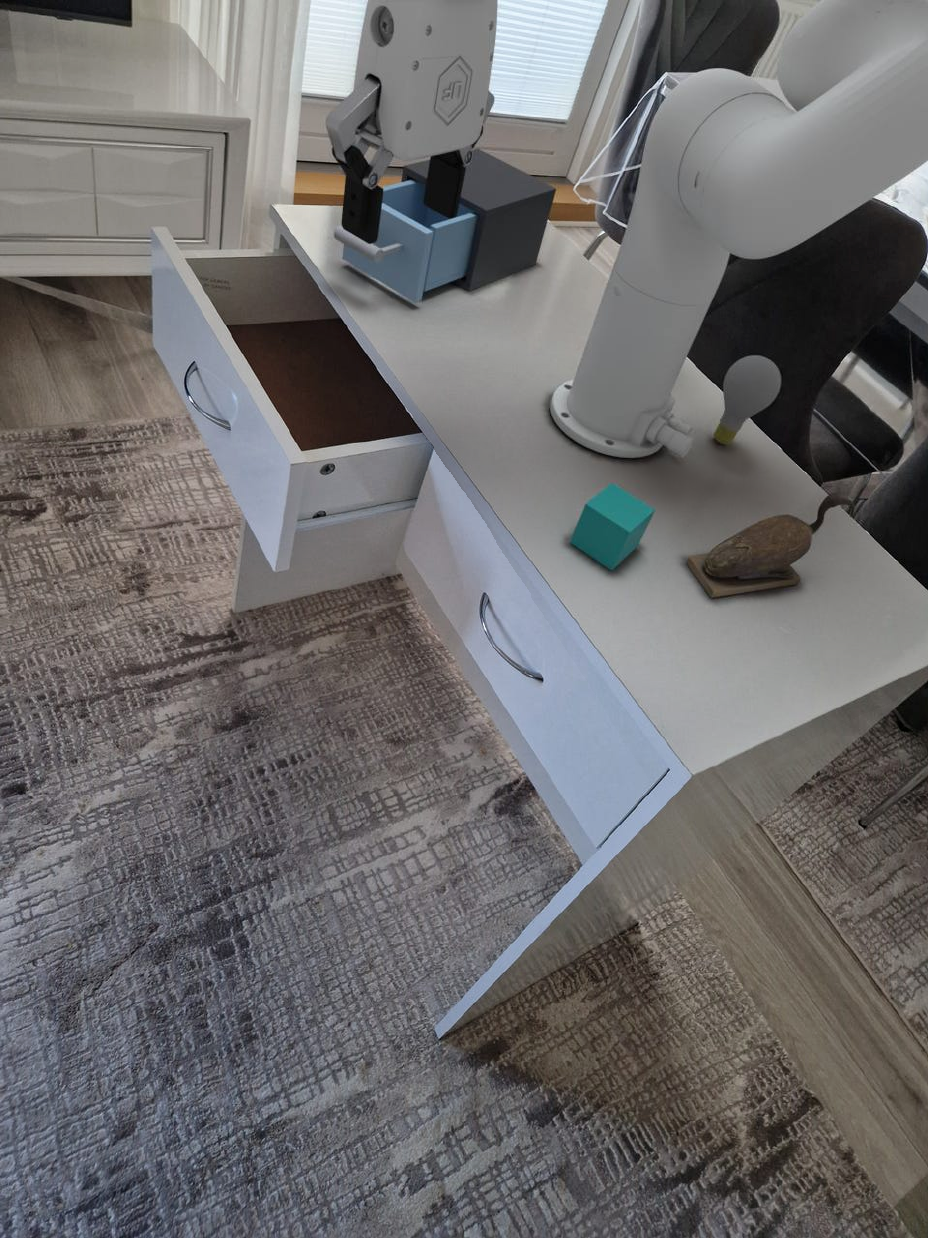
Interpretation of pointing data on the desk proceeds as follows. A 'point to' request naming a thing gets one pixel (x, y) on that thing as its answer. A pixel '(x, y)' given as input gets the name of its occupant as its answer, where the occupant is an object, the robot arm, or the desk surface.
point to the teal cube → (611, 526)
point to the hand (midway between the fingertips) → (401, 222)
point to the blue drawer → (413, 243)
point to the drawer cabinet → (498, 216)
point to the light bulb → (746, 393)
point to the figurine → (760, 554)
